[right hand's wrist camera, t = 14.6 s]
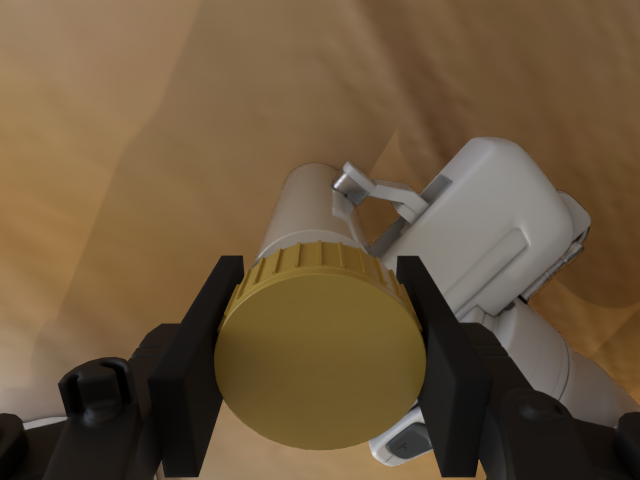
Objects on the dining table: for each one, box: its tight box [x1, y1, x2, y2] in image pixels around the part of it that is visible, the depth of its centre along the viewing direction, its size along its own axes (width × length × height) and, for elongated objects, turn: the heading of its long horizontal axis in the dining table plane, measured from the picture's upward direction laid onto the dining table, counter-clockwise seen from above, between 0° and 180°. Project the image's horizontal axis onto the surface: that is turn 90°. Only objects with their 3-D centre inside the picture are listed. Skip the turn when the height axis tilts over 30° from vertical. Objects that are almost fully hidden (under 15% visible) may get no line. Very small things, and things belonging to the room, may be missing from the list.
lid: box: [214, 240, 427, 450], centre depth 11 cm, size 6×6×2 cm
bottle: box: [251, 163, 373, 270], centre depth 21 cm, size 5×5×17 cm
